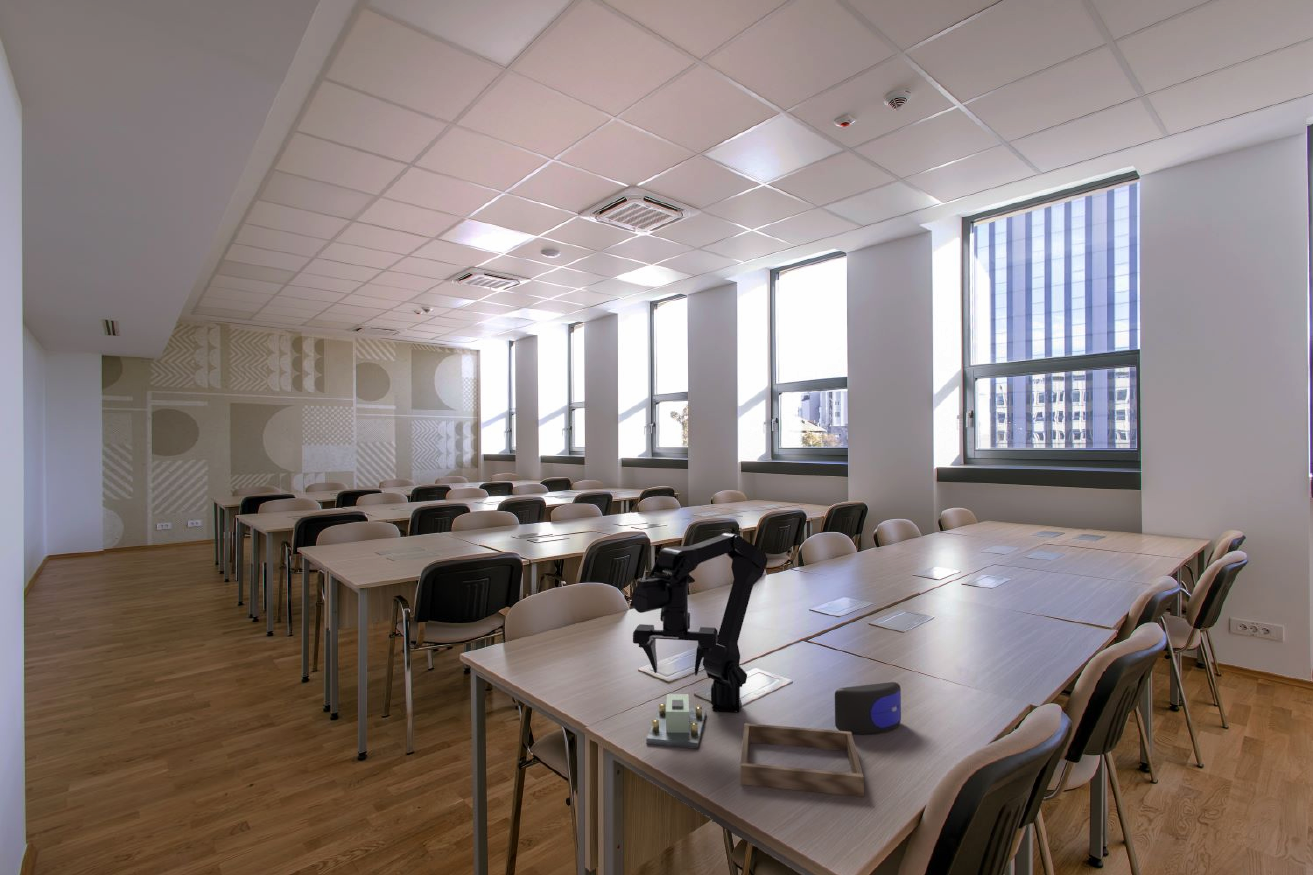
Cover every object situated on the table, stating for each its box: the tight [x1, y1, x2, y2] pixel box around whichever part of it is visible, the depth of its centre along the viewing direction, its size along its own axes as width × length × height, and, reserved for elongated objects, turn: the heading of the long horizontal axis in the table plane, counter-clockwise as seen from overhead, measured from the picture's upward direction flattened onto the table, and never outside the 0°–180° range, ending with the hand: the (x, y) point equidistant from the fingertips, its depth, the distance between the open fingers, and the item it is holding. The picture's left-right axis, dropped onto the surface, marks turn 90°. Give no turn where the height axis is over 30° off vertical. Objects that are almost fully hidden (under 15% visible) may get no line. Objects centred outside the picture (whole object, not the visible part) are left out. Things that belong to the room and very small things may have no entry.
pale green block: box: [665, 693, 690, 733], centre depth 132 cm, size 5×9×5 cm, turn 177°
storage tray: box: [740, 722, 865, 797], centre depth 116 cm, size 22×17×4 cm
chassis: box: [645, 703, 707, 749], centre depth 132 cm, size 11×16×3 cm
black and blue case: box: [834, 681, 902, 735], centre depth 131 cm, size 16×5×9 cm, turn 103°
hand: (675, 673), depth 133 cm, fingers open, 9 cm apart
